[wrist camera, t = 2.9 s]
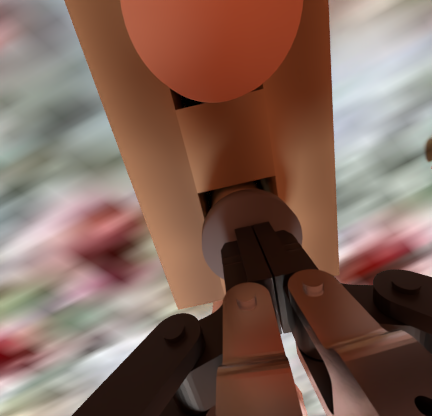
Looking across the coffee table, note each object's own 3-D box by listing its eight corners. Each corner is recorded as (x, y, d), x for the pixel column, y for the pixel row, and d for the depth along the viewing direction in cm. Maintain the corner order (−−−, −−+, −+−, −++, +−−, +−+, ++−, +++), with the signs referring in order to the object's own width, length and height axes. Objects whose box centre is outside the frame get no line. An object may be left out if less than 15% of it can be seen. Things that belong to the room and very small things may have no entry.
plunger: (210, 228, 18) (214, 293, 11) (195, 170, 16) (190, 209, 10) (268, 214, 18) (306, 274, 11) (259, 155, 16) (297, 185, 10)
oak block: (184, 255, 21) (178, 309, 15) (31, -223, 11) (-146, -570, 5) (301, 230, 20) (339, 274, 15) (248, -288, 11) (299, -729, 5)
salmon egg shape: (177, 115, 13) (153, 118, 7) (151, 18, 12) (87, -100, 5) (256, 95, 13) (310, 80, 7) (242, -5, 11) (294, -158, 5)
